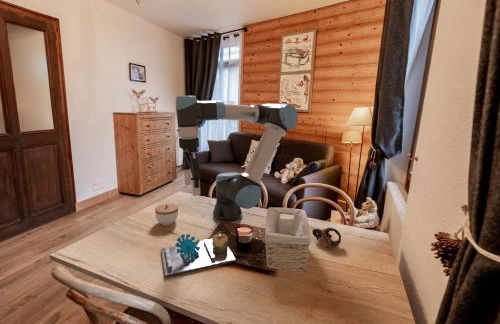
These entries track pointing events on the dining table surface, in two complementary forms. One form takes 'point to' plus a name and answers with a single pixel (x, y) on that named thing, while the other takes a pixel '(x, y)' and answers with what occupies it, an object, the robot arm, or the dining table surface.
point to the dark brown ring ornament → (327, 236)
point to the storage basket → (287, 239)
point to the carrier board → (198, 256)
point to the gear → (187, 246)
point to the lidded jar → (166, 213)
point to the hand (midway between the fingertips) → (192, 189)
